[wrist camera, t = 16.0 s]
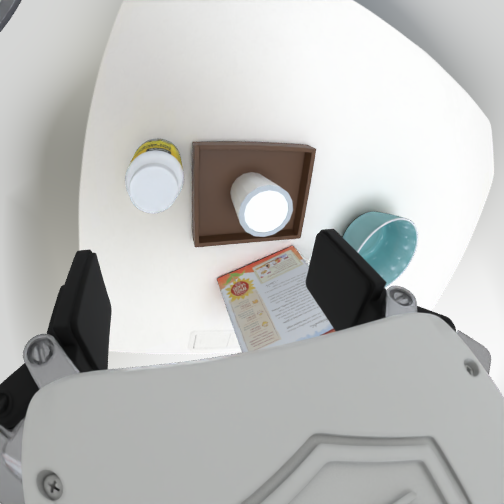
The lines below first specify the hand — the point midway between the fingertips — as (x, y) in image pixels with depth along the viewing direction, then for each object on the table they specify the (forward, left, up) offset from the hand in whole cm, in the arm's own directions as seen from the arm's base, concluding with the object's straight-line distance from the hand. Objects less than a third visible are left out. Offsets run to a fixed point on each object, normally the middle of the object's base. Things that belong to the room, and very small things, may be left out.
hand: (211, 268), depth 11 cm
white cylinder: (+10, -7, -26) cm, 29 cm away
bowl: (+33, -16, -26) cm, 45 cm away
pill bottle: (-3, -2, -26) cm, 27 cm away
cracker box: (+13, -22, -26) cm, 37 cm away
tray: (+10, -7, -26) cm, 29 cm away
